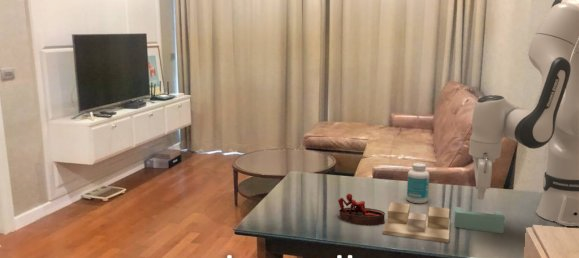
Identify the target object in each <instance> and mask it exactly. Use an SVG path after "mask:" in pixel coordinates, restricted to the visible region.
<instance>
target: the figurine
mask: <svg viewBox="0 0 579 258" xmlns="http://www.w3.org/2000/svg"><path fill="white" fill-rule="evenodd" d="M345 197H346V200H347V201H346V200H345V199H344V198H343V197H341V198H339V199H338V205H339V208H340V209H339V210H338V212H339V219H340V220H341V221H344V222H347V223H350V224H353V225H358V226H359V225H360V226H371V227H372V226H380V225H383V224H384V225H385V216H386V213H385V212H384V211H383V210H380V209H375V208H370V207H368V208H367V207H366V206H365V204H366V203H365V202H366V201H365V200H360V201H359V202H358V201H356V200H355V199H353V194H352V193H347V194H346V196H345ZM349 205H350V207H348V206H349ZM345 206H346V207H345Z"/></svg>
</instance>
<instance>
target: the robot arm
mask: <svg viewBox="0 0 579 258" xmlns="http://www.w3.org/2000/svg"><path fill="white" fill-rule="evenodd" d="M527 55H528V59H529V61H530V63H531V64H532V66H533V67H534V68H535V69H536V70H538V71H539V73H540V75H541V78H542V79H541V80H542V81H541V85H540V88H539V92H538V95H537V97H536V99H535V103H534V106H533V107H532V109H530V110H529V109H526V108H523V107H519V106H517V105H515V104H513V103H511V102H509V101H508V100H507V99H506V98H505V97H504V96H501V95H499V94H496V95H493V94H492V95H491V94H490V95H484V96H481V97H479V98H478V99H477V100H476V102H475V104H474V109H473V113H472V118H471V119H472V120H471V127H472V130H471V131H472V133H471V135H470V138H469V147H468V154H469V155H470V156H472V160H473V169H474V178H475V184H476V185H475V189H476V190H477V200H481V201H483V200H484V198H485V194H486V190H489V189H490V187H491V184H492V183H491V181H492V174H493V164H494V163H495V162H496V160H497V159H499V158H501V154H502V153H501V150H502V144H503V139H504V138H508V139H510V140H512V141H515V142H517V143H519V144H521V145H523V146H524V147H526V148H528V149H533V150H534V149H540V148H541V147H544V146H545V145H548V148H547V153H548V154H547V161H546V169H545V170H546V171H545V172H544V175H543V180H542V189H543V190H542V195H541V198H540V202H539V204H538V207H537V209H536V210H535V211H536V214H537V215H538V216H539V217H541V218H543V219H545V220H546V221H550V222H553V221H559V222H560V223H561V224H563V225H565V226H564V227H566V226H570V225H573V226H579V0H553V3H552V5H551V8H550V9H549V11H548V12H547V13H546V15H545V16H544V18H543V19H542V21H541V22H540V24H539V26H538V27H537V30H536V31H535V34H534V36H533V38H532V40H531V41H530V45H529V48H528V54H527ZM564 94H565V95H564Z"/></svg>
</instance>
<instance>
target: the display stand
mask: <svg viewBox="0 0 579 258" xmlns="http://www.w3.org/2000/svg"><path fill="white" fill-rule="evenodd" d="M410 208H411V203H410V204H409V203H403V202H402V203H401V202H393V201H391V202H390V204H389V207H388V209H387V218H386V221H385V222H384V226H383V229H382V235H387V236H394V237H401V238H402V237H403V238H410V239H414V240H415V239H416V240H424V241H431V242H440V243H446V244H449V242H450V225H451V223H450V222H451V219H450V208H445V207H439V206H438V207H437V206H429V208H428V209H429V210H428V215H427V214H424V213H416V212H410Z"/></svg>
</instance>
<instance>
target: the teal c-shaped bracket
mask: <svg viewBox="0 0 579 258" xmlns="http://www.w3.org/2000/svg"><path fill="white" fill-rule="evenodd" d="M505 219H506V218H505V215H504V214H503V215H502V212H501V211H498V210H494V214H493V213H485V212H476V211H475V212H474V211H469V210H466V211H465V210H462V207H461V206H455V207H454V228H455V227H459V228H458V229H463V228H465V229H466V230H473V231H481V232H489V233H497V234H504V230H505V229H504V228H505Z"/></svg>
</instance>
